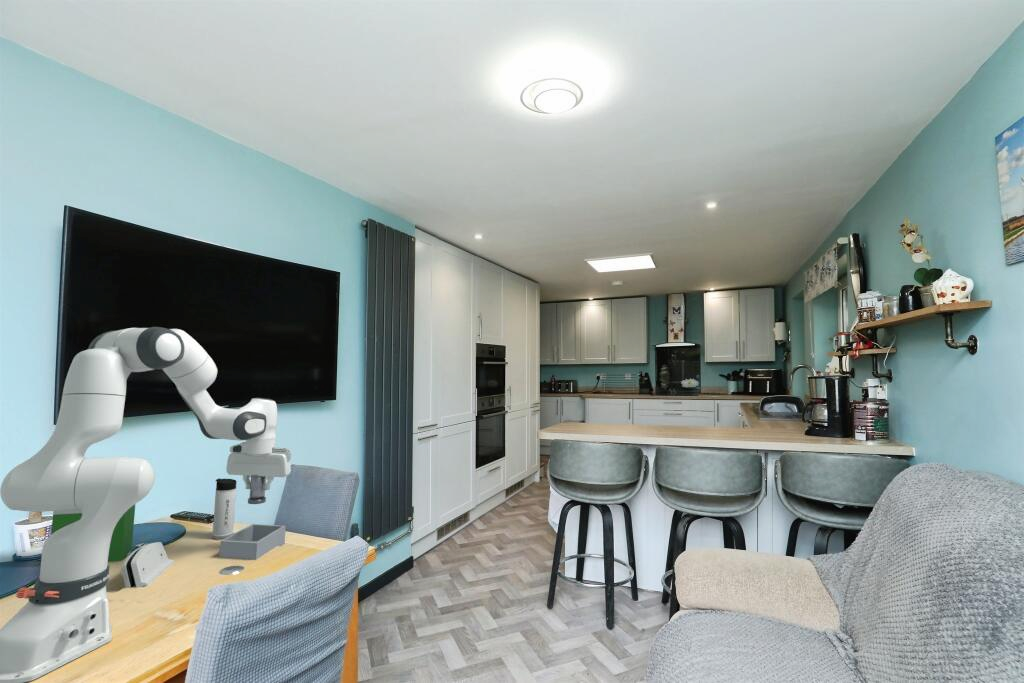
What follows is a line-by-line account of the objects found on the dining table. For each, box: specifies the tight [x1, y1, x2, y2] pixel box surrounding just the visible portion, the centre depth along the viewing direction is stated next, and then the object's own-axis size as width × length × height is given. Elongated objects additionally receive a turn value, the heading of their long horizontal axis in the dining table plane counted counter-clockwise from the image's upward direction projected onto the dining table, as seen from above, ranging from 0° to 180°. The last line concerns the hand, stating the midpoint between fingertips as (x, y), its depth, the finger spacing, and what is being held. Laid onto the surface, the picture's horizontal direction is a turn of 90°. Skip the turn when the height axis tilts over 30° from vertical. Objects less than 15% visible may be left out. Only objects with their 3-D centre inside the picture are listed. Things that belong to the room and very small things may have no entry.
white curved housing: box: [120, 541, 175, 589], centre depth 134 cm, size 17×5×10 cm, turn 14°
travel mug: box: [212, 478, 237, 541], centre depth 169 cm, size 6×7×20 cm
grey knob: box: [247, 475, 267, 505], centre depth 157 cm, size 5×5×9 cm
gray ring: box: [218, 565, 245, 576], centre depth 139 cm, size 6×6×1 cm
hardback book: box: [50, 504, 136, 563], centre depth 146 cm, size 18×7×24 cm, turn 110°
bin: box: [218, 523, 286, 561], centre depth 156 cm, size 17×12×6 cm
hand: (257, 489), depth 157 cm, fingers closed on grey knob, 4 cm apart
